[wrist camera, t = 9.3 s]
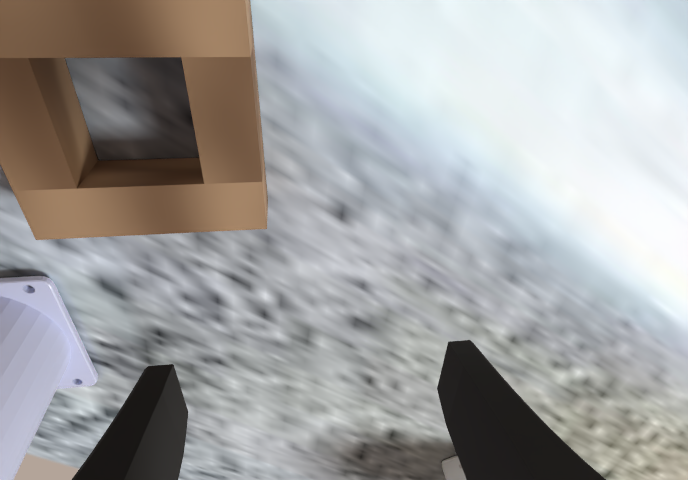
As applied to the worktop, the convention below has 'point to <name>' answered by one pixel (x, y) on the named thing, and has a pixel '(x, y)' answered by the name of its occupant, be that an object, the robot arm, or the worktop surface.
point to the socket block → (143, 174)
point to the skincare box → (453, 469)
